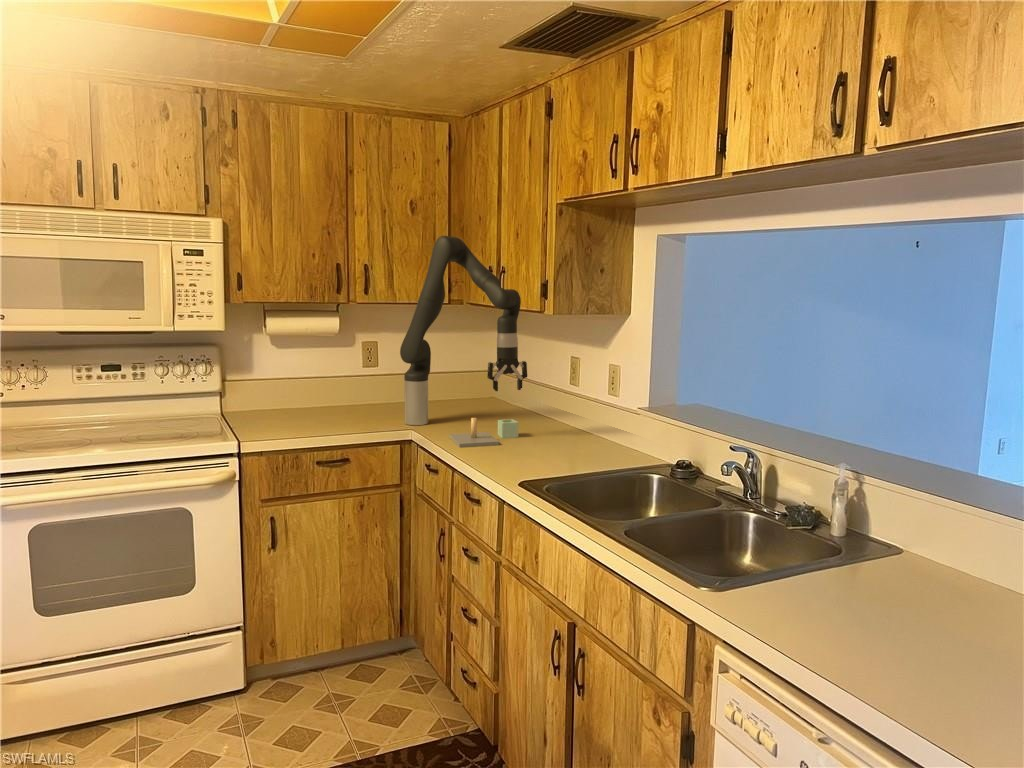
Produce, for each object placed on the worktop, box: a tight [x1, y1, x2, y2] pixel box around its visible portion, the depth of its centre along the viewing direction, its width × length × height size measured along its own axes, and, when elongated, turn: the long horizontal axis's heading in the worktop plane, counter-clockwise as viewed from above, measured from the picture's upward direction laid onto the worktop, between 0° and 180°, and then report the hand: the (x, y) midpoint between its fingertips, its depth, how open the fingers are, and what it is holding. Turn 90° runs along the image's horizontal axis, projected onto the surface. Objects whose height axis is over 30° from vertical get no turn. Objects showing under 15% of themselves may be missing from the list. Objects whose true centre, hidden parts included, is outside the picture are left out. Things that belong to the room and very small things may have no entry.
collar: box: [497, 419, 519, 439], centre depth 268 cm, size 6×6×6 cm
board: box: [449, 417, 500, 448], centre depth 259 cm, size 16×14×8 cm
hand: (507, 390), depth 265 cm, fingers open, 8 cm apart
